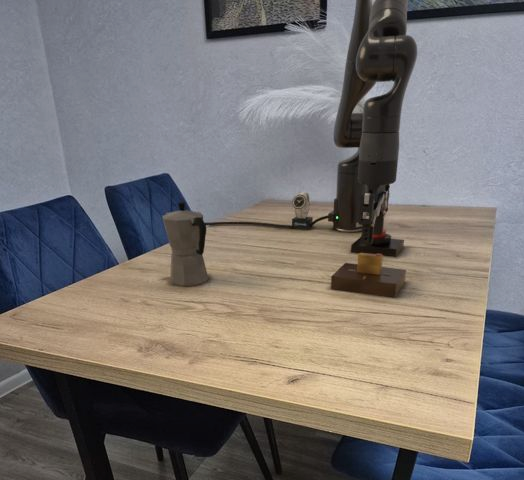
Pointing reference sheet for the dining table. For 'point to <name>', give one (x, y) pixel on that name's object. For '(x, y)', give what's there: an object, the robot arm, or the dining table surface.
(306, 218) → the watch
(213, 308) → the dining table surface
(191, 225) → the coffeepot
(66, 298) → the dining table surface
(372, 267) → the thumbturn
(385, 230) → the arm button
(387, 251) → the alarm box
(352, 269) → the plate
